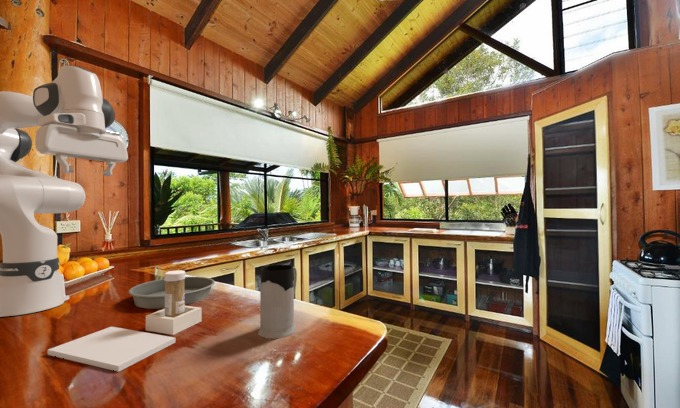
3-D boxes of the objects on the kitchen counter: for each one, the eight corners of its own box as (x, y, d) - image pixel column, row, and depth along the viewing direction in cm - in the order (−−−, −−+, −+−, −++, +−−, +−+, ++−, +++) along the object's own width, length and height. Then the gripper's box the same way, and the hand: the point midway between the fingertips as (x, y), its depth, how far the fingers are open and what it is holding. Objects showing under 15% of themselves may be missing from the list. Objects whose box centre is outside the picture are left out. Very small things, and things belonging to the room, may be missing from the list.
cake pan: (192, 311, 83) (192, 295, 83) (107, 311, 83) (107, 295, 83) (226, 288, 108) (226, 275, 108) (160, 288, 108) (161, 276, 108)
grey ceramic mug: (250, 335, 66) (250, 270, 67) (281, 314, 80) (281, 259, 80) (284, 340, 64) (284, 272, 64) (310, 317, 77) (310, 261, 77)
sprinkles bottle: (185, 326, 72) (186, 272, 72) (164, 331, 69) (164, 274, 69) (184, 320, 75) (184, 269, 76) (163, 324, 73) (164, 271, 73)
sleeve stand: (145, 330, 69) (145, 315, 69) (176, 317, 78) (176, 304, 78) (173, 334, 67) (173, 319, 67) (201, 321, 75) (201, 307, 75)
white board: (47, 354, 58) (47, 349, 58) (111, 330, 69) (111, 326, 69) (118, 371, 52) (118, 366, 52) (175, 342, 63) (175, 337, 63)
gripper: (116, 135, 91) (120, 179, 90) (29, 117, 72) (33, 173, 71) (130, 131, 89) (134, 175, 88) (44, 112, 70) (49, 168, 69)
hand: (89, 174), depth 80 cm, fingers open, 8 cm apart
